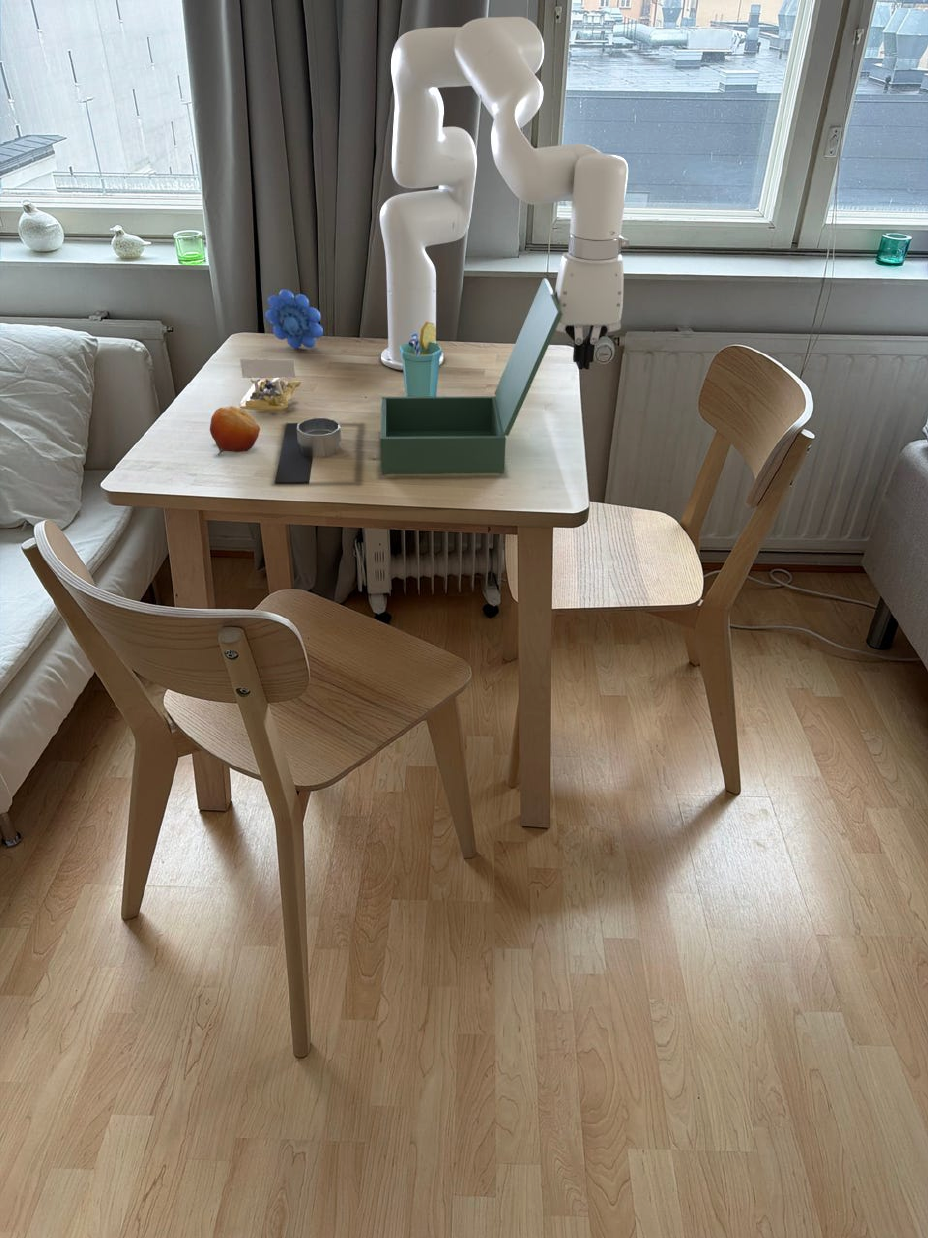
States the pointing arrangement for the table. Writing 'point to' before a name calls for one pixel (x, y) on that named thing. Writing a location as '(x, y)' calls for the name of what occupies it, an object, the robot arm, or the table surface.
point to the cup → (421, 363)
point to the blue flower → (294, 319)
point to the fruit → (233, 429)
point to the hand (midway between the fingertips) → (582, 365)
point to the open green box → (441, 435)
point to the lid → (527, 355)
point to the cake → (268, 384)
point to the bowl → (319, 437)
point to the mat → (292, 460)
